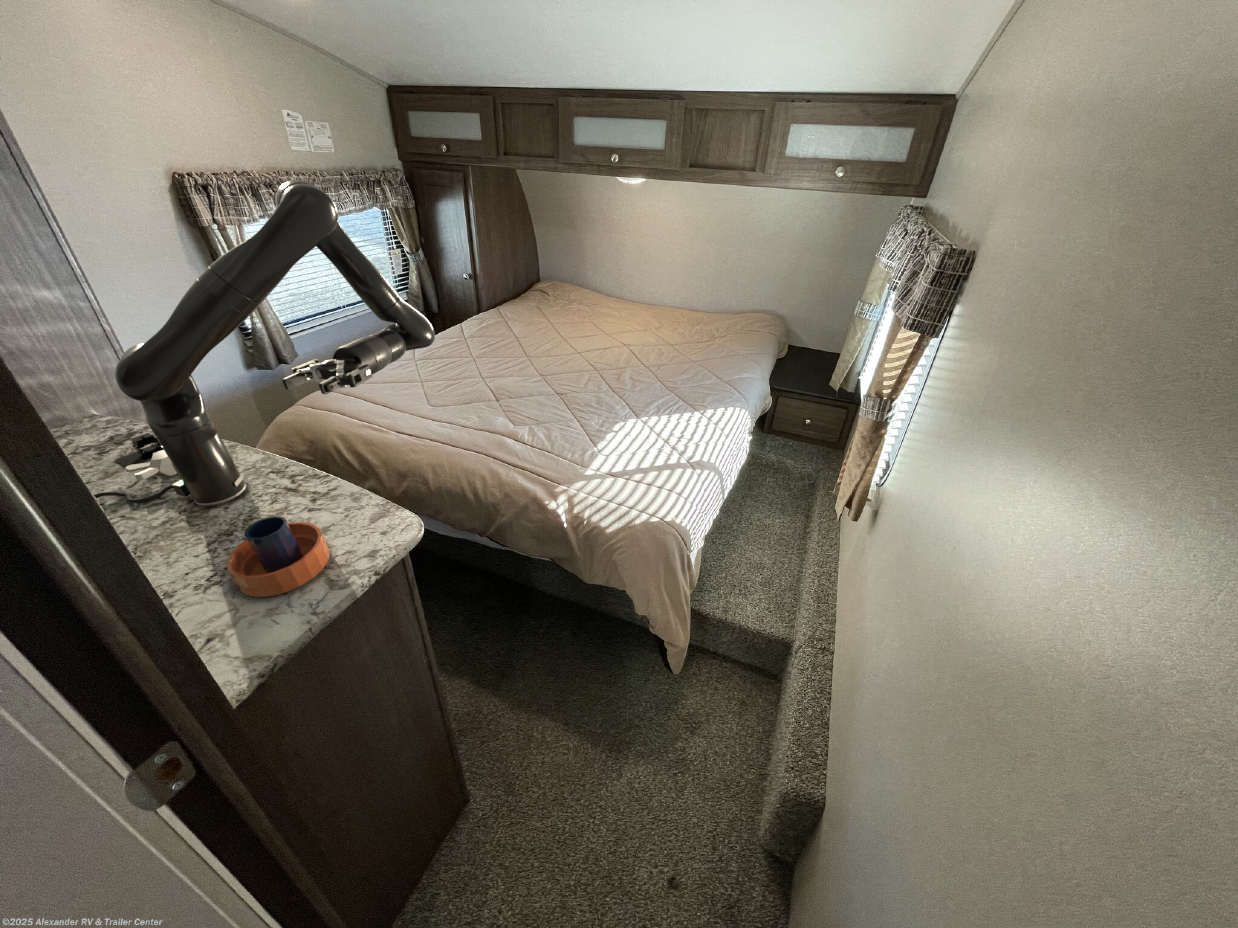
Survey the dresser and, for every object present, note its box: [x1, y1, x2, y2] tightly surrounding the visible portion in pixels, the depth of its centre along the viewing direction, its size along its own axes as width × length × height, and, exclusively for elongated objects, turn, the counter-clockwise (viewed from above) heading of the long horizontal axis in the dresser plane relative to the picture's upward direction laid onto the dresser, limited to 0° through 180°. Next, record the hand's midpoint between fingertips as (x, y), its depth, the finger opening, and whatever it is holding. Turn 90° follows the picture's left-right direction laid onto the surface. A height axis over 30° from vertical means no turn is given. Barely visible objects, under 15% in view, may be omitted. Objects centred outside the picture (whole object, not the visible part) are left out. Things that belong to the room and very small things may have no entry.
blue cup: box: [244, 515, 304, 574], centre depth 85 cm, size 6×6×9 cm
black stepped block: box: [114, 432, 164, 468], centre depth 122 cm, size 12×7×5 cm, turn 151°
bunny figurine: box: [125, 450, 178, 481], centre depth 115 cm, size 10×5×15 cm
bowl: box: [226, 521, 331, 598], centre depth 86 cm, size 14×14×5 cm
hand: (303, 387), depth 91 cm, fingers open, 8 cm apart
